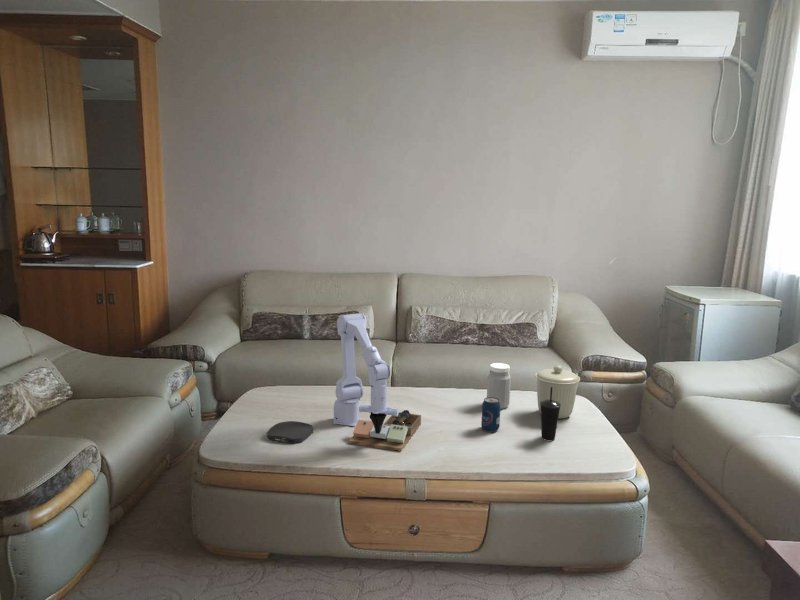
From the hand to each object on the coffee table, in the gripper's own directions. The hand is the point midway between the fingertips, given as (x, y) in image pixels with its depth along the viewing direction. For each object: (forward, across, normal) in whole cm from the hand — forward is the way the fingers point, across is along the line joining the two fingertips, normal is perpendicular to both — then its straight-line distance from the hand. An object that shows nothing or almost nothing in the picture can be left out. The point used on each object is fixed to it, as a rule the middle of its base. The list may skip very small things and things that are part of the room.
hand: (378, 432), depth 216 cm
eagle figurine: (+4, +3, +17) cm, 18 cm away
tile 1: (0, -7, +2) cm, 7 cm away
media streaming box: (+4, -34, -4) cm, 34 cm away
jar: (+4, +35, +54) cm, 65 cm away
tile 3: (0, +6, +2) cm, 7 cm away
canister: (+4, +59, +52) cm, 79 cm away
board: (+4, 0, +9) cm, 10 cm away
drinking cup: (+5, +58, +26) cm, 64 cm away
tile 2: (0, 0, +2) cm, 2 cm away
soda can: (+4, +36, +28) cm, 46 cm away
